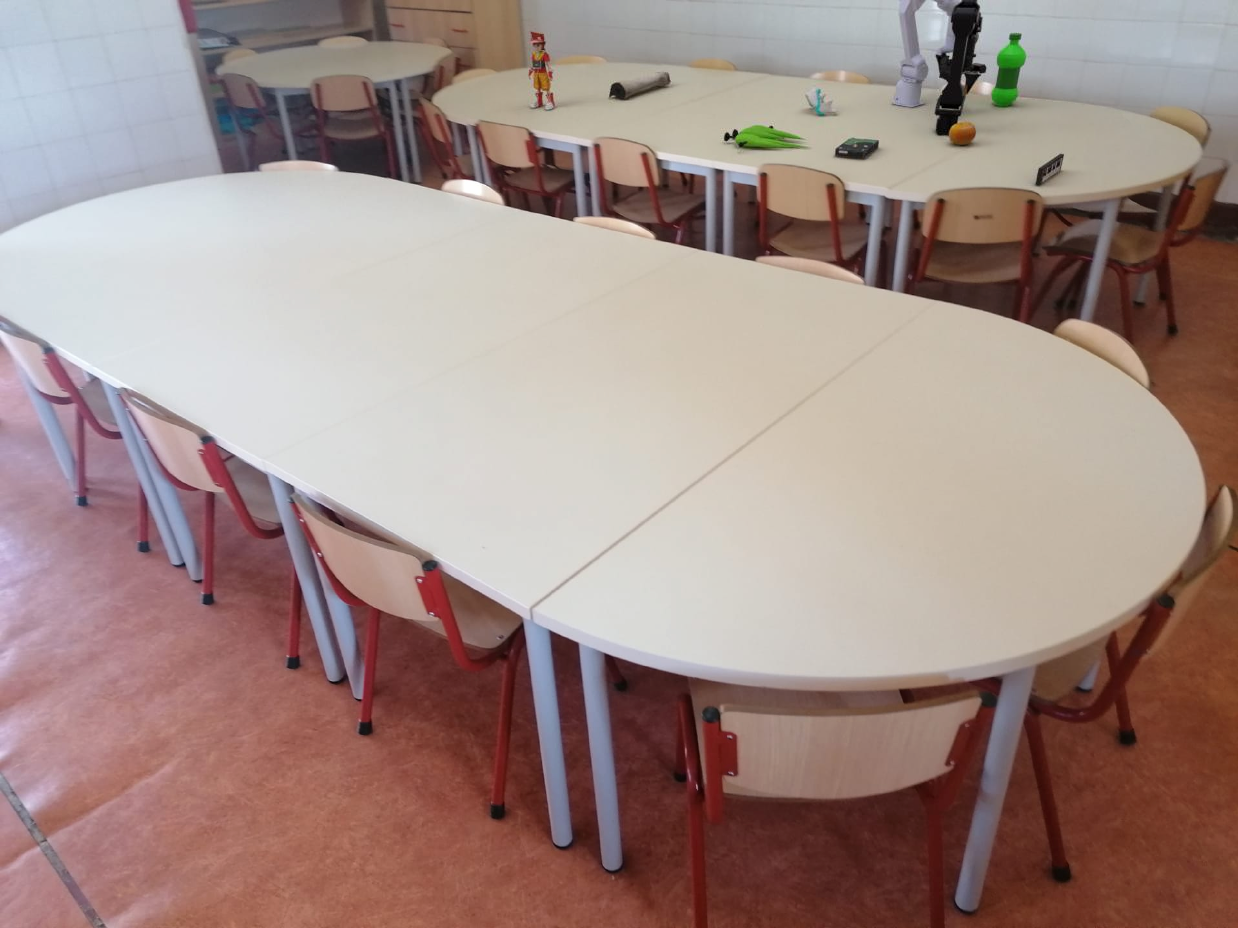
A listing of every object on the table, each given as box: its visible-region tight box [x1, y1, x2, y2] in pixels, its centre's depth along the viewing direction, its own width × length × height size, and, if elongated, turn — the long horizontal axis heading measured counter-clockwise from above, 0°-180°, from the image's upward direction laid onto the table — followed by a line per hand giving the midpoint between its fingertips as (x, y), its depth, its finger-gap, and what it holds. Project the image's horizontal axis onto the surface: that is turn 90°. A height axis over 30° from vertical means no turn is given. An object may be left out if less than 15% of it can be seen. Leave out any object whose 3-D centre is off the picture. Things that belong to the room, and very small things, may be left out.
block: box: [962, 84, 968, 102], centre depth 337 cm, size 5×5×4 cm
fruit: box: [948, 121, 977, 146], centre depth 306 cm, size 8×8×8 cm
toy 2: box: [723, 124, 807, 148], centre depth 319 cm, size 28×5×30 cm
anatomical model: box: [804, 85, 838, 116], centre depth 351 cm, size 15×10×10 cm
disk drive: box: [834, 137, 880, 159], centre depth 305 cm, size 10×3×15 cm
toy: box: [527, 31, 556, 111], centre depth 374 cm, size 12×9×30 cm
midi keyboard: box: [1035, 153, 1065, 186], centre depth 273 cm, size 18×1×5 cm, turn 138°
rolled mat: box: [608, 71, 672, 101], centre depth 395 cm, size 30×9×10 cm
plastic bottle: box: [991, 32, 1027, 107], centre depth 341 cm, size 10×10×25 cm
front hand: (959, 96), depth 338 cm, fingers closed on block, 7 cm apart
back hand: (948, 72), depth 357 cm, fingers open, 7 cm apart
